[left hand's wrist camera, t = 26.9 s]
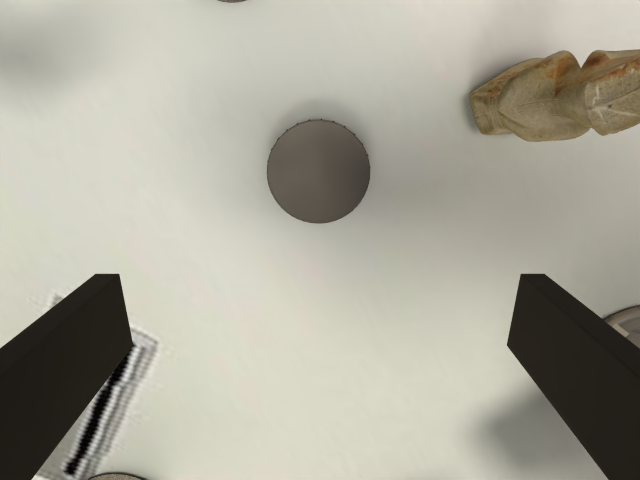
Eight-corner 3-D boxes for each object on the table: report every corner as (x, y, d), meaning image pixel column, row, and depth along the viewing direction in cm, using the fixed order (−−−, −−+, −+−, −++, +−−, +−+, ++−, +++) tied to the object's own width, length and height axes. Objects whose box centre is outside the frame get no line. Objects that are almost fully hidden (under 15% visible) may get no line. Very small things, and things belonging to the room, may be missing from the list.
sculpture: (548, 114, 35) (703, 125, 21) (470, 144, 36) (567, 174, 22) (536, 47, 33) (698, 10, 19) (454, 81, 34) (549, 68, 20)
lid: (357, 226, 39) (358, 231, 37) (262, 210, 38) (260, 215, 37) (378, 129, 35) (381, 130, 34) (275, 110, 35) (273, 110, 33)
